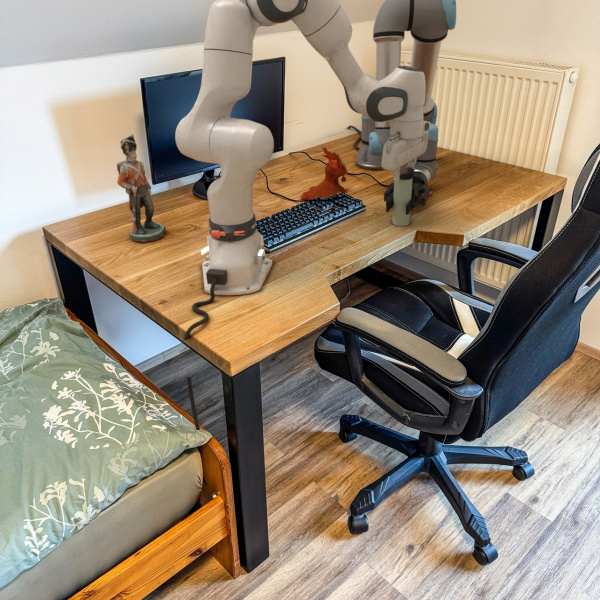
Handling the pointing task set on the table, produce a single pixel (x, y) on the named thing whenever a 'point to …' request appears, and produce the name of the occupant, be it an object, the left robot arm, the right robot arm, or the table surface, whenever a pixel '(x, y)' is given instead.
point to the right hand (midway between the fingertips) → (397, 209)
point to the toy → (329, 178)
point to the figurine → (138, 193)
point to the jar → (401, 201)
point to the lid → (406, 172)
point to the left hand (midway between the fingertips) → (403, 176)
